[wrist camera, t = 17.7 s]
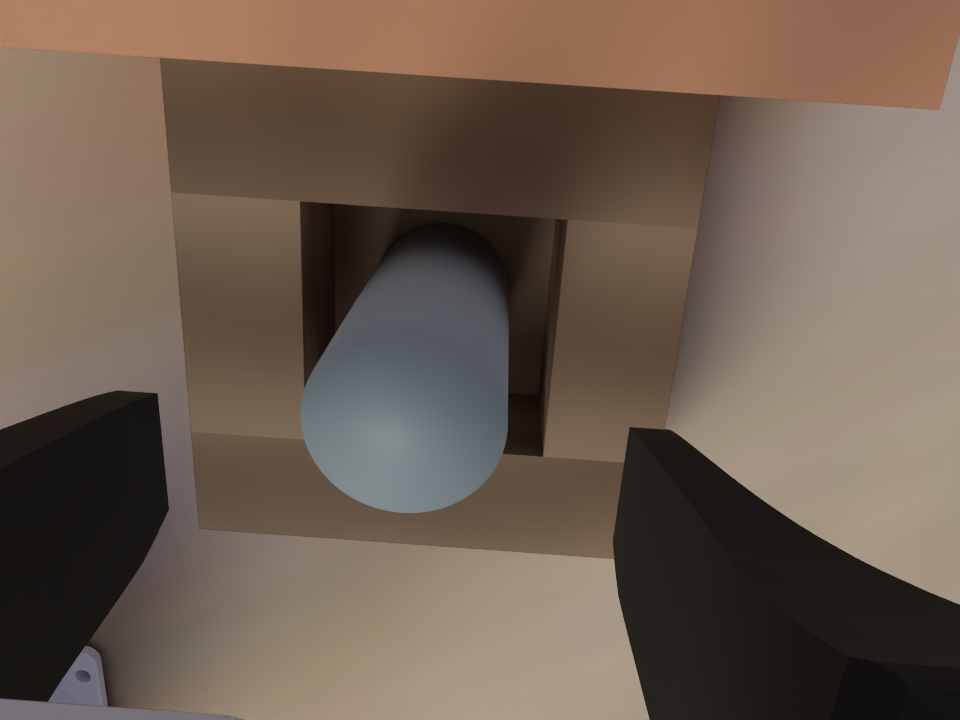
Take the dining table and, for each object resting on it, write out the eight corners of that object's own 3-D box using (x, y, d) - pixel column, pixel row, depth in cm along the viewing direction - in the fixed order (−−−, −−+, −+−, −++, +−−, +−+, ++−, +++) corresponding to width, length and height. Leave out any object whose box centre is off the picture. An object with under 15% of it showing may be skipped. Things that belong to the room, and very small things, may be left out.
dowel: (504, 355, 21) (500, 520, 14) (375, 346, 21) (302, 505, 14) (514, 227, 20) (515, 333, 13) (376, 218, 20) (297, 318, 13)
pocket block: (619, 469, 24) (642, 561, 20) (253, 443, 24) (199, 528, 20) (675, 81, 20) (720, 91, 15) (234, 52, 20) (159, 54, 16)
